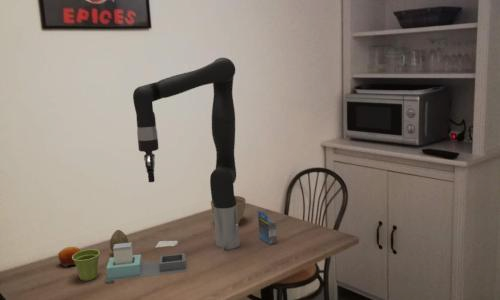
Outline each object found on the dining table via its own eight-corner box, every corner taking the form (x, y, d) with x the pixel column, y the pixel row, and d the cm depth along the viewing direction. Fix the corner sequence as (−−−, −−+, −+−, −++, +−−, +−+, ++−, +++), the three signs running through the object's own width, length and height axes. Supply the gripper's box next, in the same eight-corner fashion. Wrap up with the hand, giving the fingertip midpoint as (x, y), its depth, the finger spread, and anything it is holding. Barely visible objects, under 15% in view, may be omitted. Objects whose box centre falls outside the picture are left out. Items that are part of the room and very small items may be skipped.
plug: (134, 268, 168) (131, 242, 167) (133, 272, 165) (130, 246, 163) (117, 270, 168) (114, 244, 166) (115, 274, 164) (113, 248, 162)
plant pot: (102, 280, 162) (99, 257, 161) (73, 285, 160) (70, 261, 158) (102, 269, 171) (100, 247, 169) (75, 274, 168) (72, 251, 167)
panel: (186, 260, 175) (185, 248, 174) (187, 274, 164) (186, 261, 163) (110, 268, 171) (109, 256, 170) (106, 283, 160) (104, 270, 159)
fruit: (60, 268, 170) (57, 247, 173) (60, 271, 177) (57, 251, 179) (83, 263, 174) (80, 242, 176) (82, 266, 181) (78, 247, 183)
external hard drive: (178, 244, 193) (171, 256, 181) (159, 244, 194) (151, 257, 182) (178, 240, 193) (171, 252, 181) (158, 241, 194) (150, 253, 181)
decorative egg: (120, 248, 190) (118, 225, 188) (133, 251, 186) (130, 228, 184) (107, 255, 184) (104, 231, 182) (120, 258, 180) (117, 234, 178)
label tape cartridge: (277, 242, 188) (276, 214, 186) (268, 244, 186) (267, 215, 184) (266, 236, 196) (265, 208, 194) (258, 238, 194) (257, 210, 192)
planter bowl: (211, 218, 222) (210, 197, 220) (244, 216, 223) (243, 194, 221) (212, 230, 206) (211, 207, 204) (248, 227, 207) (247, 204, 205)
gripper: (157, 140, 171) (161, 185, 174) (158, 134, 184) (161, 177, 187) (136, 141, 170) (140, 186, 173) (139, 136, 183) (143, 178, 186)
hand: (151, 181), depth 180 cm, fingers closed
